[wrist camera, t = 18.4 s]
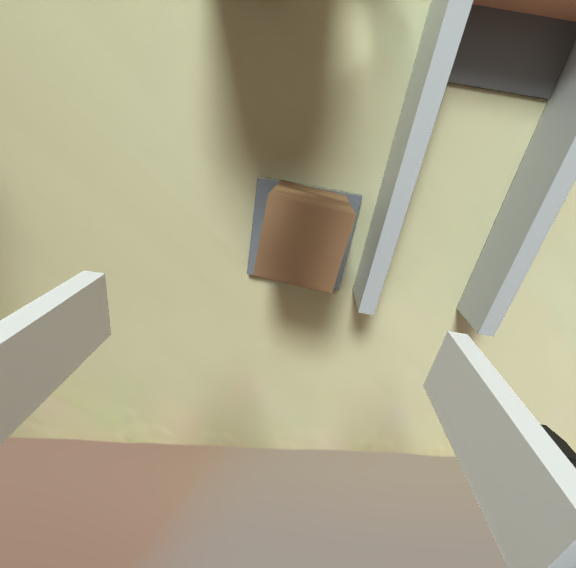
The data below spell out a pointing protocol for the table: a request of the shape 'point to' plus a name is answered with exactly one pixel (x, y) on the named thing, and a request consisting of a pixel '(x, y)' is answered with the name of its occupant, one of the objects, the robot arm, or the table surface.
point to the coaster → (259, 210)
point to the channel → (535, 164)
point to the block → (304, 236)
